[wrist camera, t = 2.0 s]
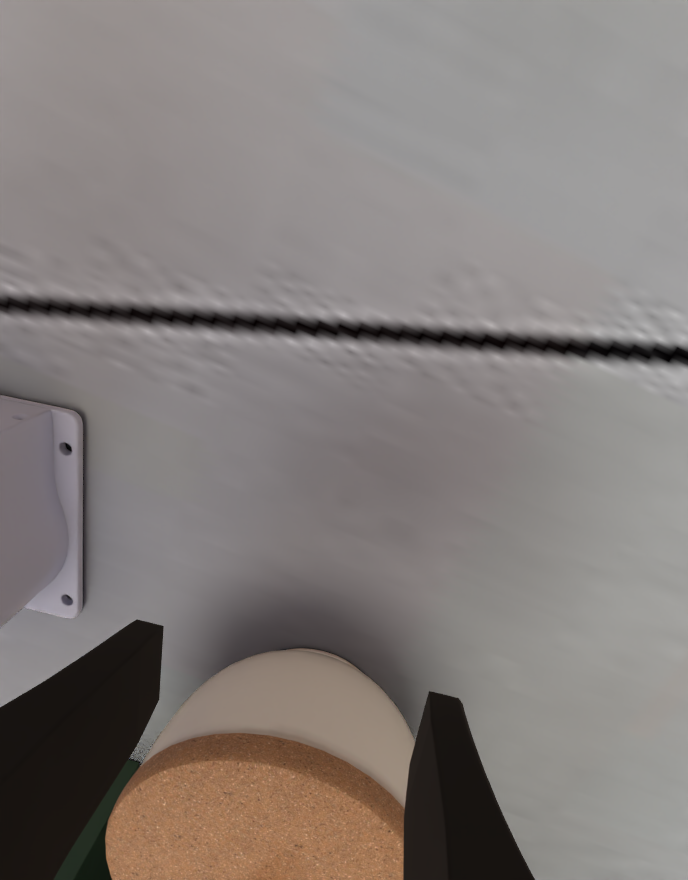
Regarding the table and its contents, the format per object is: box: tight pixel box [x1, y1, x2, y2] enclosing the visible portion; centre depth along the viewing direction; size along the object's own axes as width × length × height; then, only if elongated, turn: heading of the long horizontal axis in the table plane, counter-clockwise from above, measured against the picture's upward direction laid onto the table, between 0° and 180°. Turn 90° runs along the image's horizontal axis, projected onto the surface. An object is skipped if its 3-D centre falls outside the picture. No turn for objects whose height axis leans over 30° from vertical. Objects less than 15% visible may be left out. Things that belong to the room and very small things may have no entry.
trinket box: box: [105, 648, 415, 880], centre depth 22 cm, size 11×11×9 cm
